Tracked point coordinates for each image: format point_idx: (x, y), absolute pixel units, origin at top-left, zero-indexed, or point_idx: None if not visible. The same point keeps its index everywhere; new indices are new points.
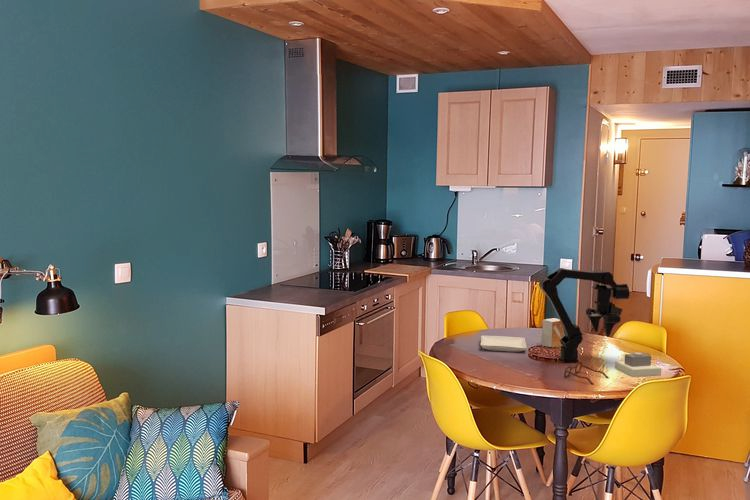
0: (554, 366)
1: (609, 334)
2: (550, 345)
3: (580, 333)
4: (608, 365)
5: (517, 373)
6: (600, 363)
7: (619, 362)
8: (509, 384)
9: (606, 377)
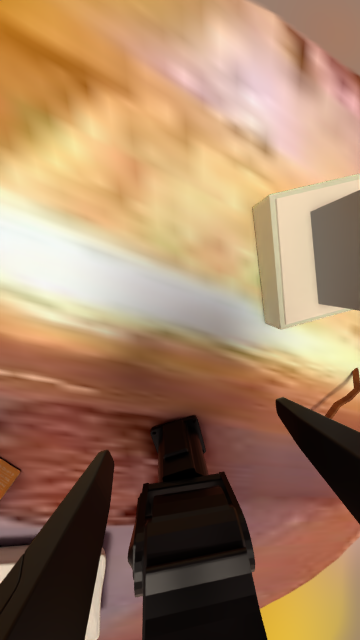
0: (239, 474)
1: (302, 409)
2: (9, 485)
3: (248, 572)
4: (234, 333)
5: (287, 537)
6: (209, 353)
7: (301, 318)
8: (349, 543)
9: (354, 374)
